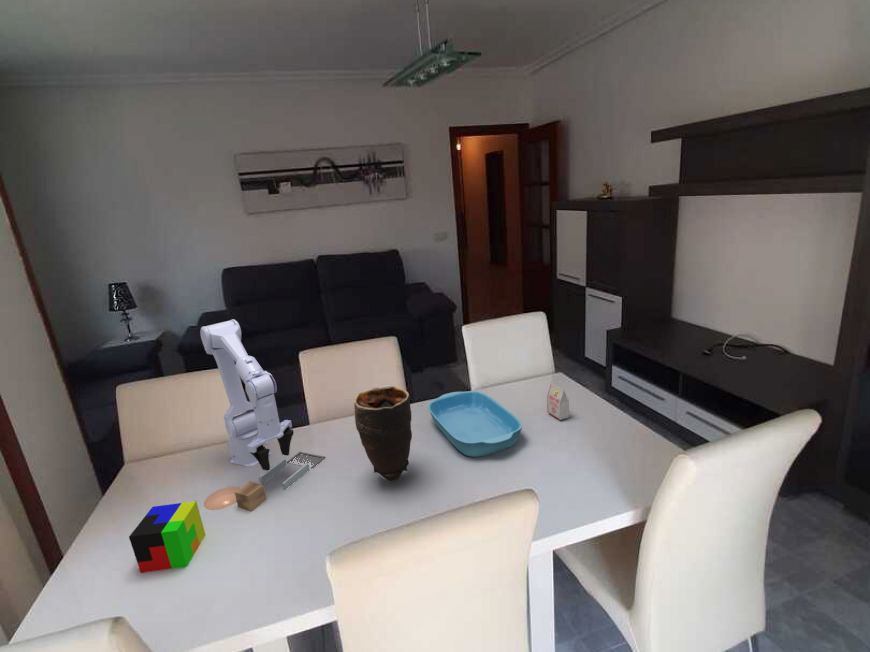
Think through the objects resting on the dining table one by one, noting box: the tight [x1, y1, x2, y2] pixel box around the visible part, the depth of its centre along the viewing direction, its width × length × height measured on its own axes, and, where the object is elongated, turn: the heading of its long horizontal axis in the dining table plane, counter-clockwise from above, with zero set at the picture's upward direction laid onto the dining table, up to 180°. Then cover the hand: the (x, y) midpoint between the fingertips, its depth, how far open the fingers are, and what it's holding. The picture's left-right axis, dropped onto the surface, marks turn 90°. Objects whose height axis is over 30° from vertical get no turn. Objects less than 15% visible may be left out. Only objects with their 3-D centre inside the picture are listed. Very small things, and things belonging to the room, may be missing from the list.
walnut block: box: [235, 480, 267, 512], centre depth 120 cm, size 5×5×5 cm
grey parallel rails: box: [258, 458, 310, 491], centre depth 131 cm, size 9×10×2 cm
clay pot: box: [353, 384, 413, 482], centre depth 123 cm, size 15×15×25 cm
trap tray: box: [286, 451, 326, 469], centre depth 139 cm, size 10×6×1 cm, turn 65°
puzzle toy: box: [128, 500, 206, 573], centre depth 104 cm, size 10×10×10 cm
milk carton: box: [546, 383, 570, 421], centre depth 152 cm, size 4×7×10 cm, turn 23°
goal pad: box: [203, 486, 241, 511], centre depth 124 cm, size 10×10×1 cm
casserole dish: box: [427, 390, 523, 458], centre depth 146 cm, size 37×22×7 cm, turn 22°
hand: (276, 461), depth 128 cm, fingers open, 7 cm apart
